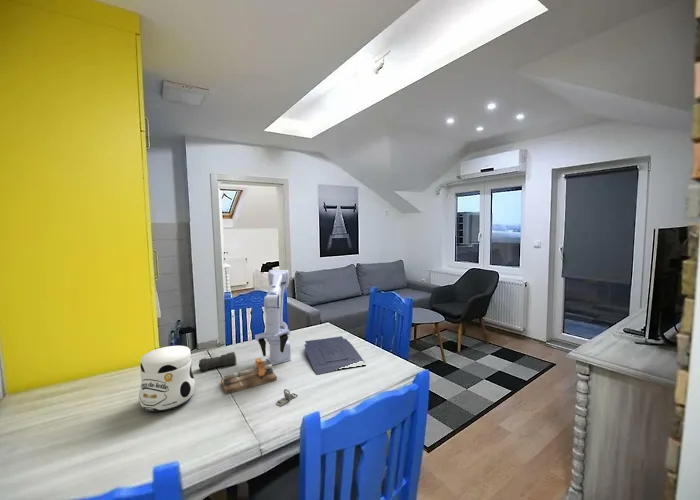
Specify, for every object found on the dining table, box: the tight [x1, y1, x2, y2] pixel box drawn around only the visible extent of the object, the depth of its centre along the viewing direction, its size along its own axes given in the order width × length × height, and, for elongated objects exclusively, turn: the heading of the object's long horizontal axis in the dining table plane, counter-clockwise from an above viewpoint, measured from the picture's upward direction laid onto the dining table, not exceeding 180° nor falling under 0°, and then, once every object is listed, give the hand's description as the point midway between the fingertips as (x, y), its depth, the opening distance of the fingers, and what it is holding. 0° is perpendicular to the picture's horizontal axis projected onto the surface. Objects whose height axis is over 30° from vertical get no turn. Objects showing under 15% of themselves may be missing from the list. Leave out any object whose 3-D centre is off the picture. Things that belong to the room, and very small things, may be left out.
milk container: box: [138, 345, 196, 413], centre depth 108 cm, size 17×17×18 cm
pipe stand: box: [220, 363, 278, 395], centre depth 123 cm, size 20×10×5 cm, turn 123°
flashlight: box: [198, 351, 237, 372], centre depth 136 cm, size 15×5×5 cm, turn 122°
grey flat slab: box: [304, 335, 364, 375], centre depth 147 cm, size 24×30×4 cm
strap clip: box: [275, 388, 298, 407], centre depth 110 cm, size 8×3×4 cm, turn 144°
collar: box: [255, 357, 265, 377], centre depth 125 cm, size 2×6×5 cm, turn 32°
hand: (273, 353), depth 128 cm, fingers open, 7 cm apart
